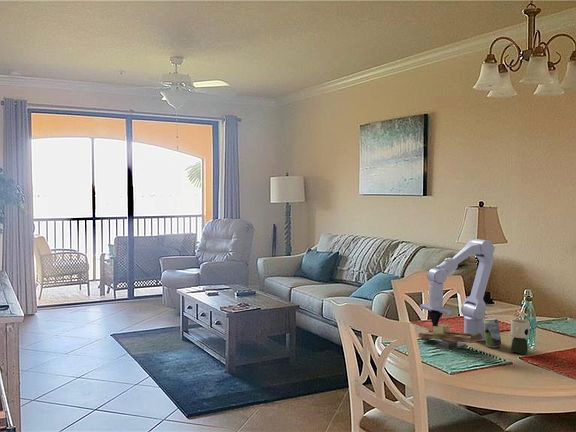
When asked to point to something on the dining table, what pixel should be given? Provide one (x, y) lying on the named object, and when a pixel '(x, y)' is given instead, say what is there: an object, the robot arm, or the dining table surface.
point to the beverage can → (492, 332)
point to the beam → (452, 337)
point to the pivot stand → (449, 345)
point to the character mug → (520, 335)
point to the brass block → (441, 329)
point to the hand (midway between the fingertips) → (435, 328)
